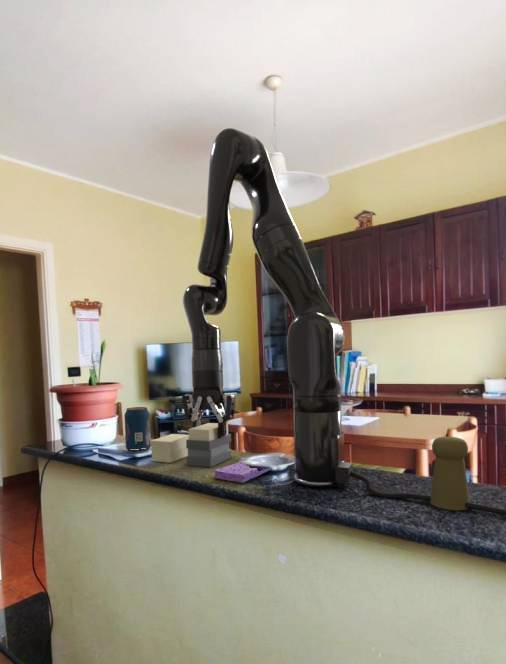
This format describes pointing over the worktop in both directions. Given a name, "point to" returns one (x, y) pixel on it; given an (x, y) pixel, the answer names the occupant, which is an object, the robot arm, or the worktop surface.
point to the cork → (449, 474)
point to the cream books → (169, 448)
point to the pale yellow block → (205, 432)
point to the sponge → (238, 472)
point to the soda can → (137, 429)
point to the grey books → (208, 451)
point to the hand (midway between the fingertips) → (209, 436)
